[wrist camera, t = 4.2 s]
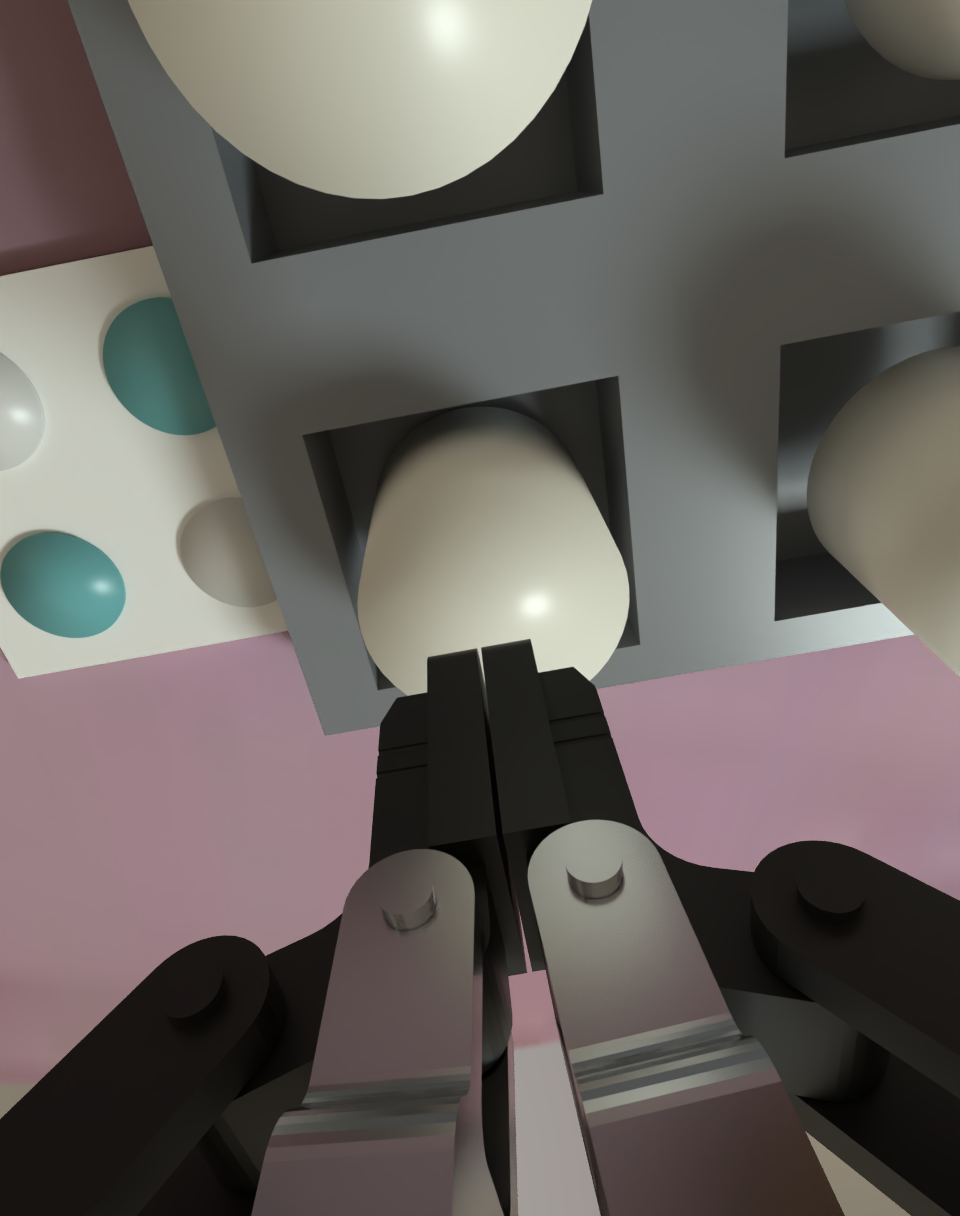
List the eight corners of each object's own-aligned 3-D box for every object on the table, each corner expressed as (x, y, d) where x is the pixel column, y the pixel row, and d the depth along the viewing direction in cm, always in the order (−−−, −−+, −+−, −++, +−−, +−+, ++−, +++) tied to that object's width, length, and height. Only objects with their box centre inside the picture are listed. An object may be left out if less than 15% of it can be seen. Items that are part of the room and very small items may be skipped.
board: (338, 664, 21) (324, 735, 18) (58, -213, 12) (-45, -318, 10) (1018, 545, 20) (1107, 601, 17) (1217, -472, 11) (1450, -664, 9)
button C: (400, 618, 19) (392, 738, 15) (351, 428, 16) (324, 510, 12) (594, 584, 19) (638, 696, 15) (572, 387, 16) (617, 457, 12)
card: (25, 670, 20) (15, 682, 20) (-179, 311, 16) (-198, 316, 15) (361, 610, 20) (359, 621, 19) (250, 226, 15) (243, 228, 15)
